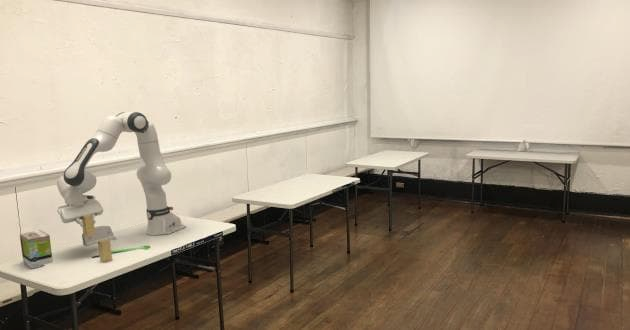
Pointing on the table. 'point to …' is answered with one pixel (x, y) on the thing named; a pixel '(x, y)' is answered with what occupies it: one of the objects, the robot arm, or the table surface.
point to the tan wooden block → (105, 250)
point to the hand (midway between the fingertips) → (88, 224)
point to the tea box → (36, 248)
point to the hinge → (99, 235)
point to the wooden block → (88, 225)
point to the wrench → (130, 249)
